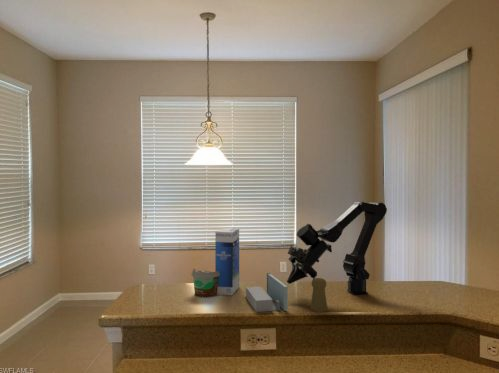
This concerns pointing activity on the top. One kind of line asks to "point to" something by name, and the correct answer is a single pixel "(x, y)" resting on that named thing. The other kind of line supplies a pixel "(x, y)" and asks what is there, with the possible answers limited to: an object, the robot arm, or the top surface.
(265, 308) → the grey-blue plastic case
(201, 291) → the food container
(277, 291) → the cover
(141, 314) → the top surface
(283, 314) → the top surface
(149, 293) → the top surface
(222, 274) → the string lights box
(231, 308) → the top surface
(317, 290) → the beige waisted cylinder
